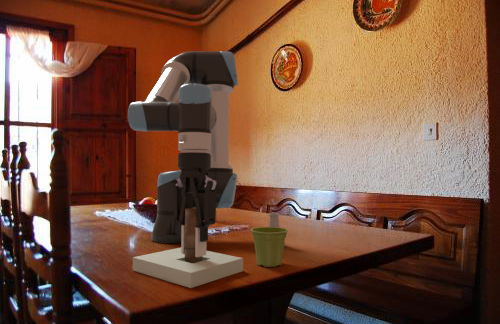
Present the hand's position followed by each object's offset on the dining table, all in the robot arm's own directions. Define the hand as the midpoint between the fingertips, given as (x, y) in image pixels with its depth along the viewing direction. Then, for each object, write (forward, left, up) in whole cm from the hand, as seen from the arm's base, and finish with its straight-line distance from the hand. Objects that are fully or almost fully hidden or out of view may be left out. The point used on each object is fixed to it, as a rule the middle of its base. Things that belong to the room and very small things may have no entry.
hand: (193, 254), depth 84 cm
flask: (-3, +36, -4) cm, 36 cm away
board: (-2, 0, -4) cm, 5 cm away
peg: (0, 0, -2) cm, 2 cm away
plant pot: (+9, +17, -4) cm, 20 cm away
